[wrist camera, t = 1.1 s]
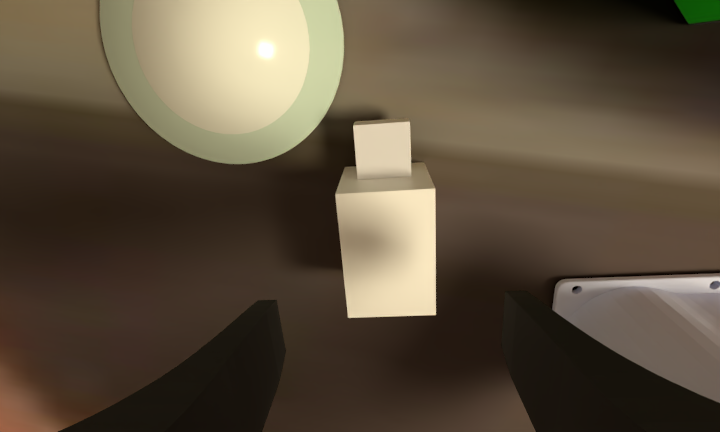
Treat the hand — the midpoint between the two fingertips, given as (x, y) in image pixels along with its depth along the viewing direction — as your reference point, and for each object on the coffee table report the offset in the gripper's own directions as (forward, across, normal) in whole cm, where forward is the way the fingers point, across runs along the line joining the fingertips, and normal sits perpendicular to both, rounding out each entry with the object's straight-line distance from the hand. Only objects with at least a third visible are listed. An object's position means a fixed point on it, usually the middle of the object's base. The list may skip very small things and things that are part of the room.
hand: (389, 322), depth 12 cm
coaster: (+9, +7, -9) cm, 14 cm away
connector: (+9, 0, -1) cm, 9 cm away
